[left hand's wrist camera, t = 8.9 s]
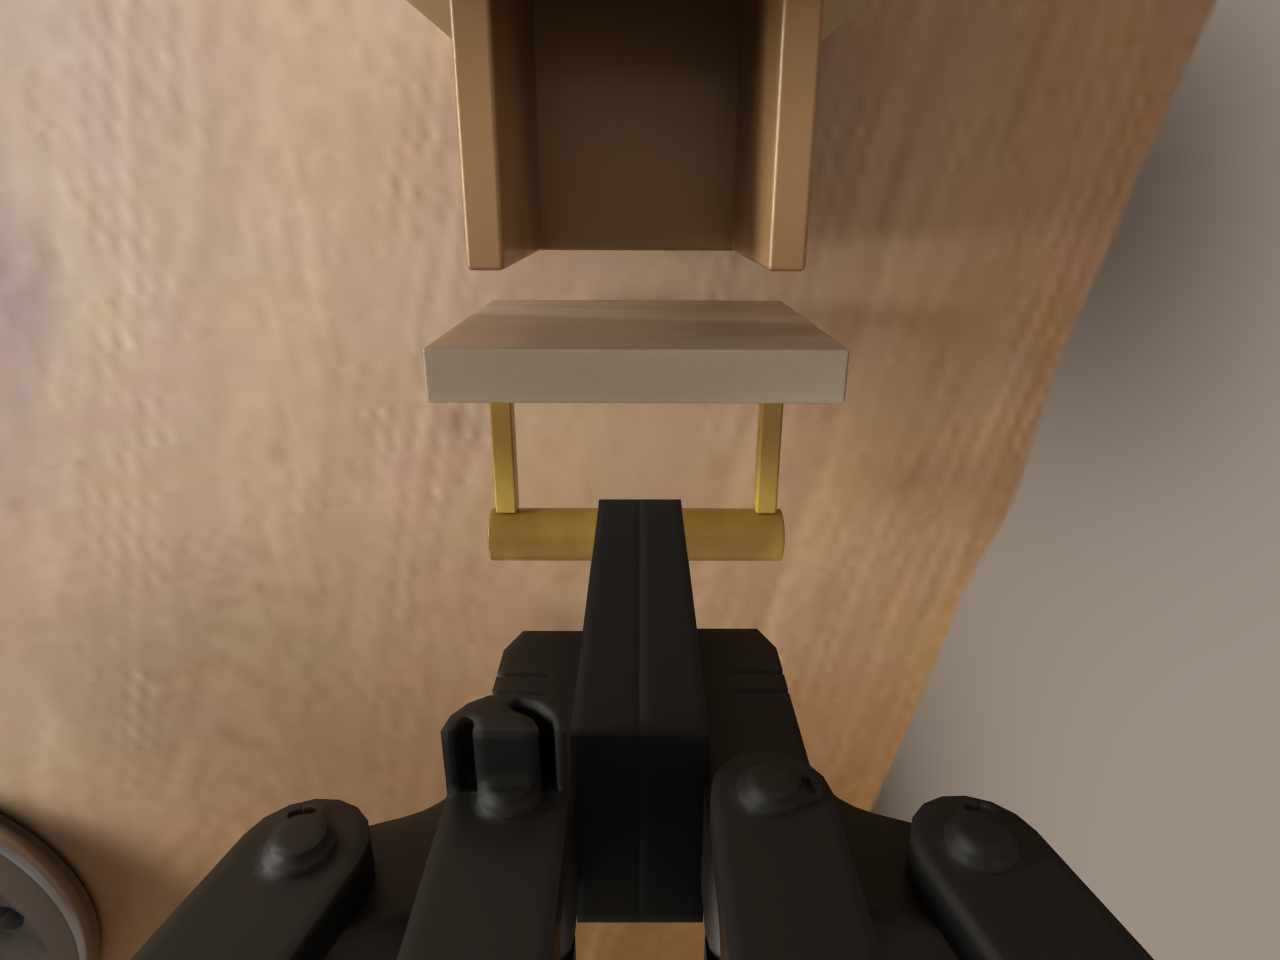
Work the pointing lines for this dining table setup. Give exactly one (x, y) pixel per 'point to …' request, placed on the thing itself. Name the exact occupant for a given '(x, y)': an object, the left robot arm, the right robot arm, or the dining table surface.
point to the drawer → (635, 229)
